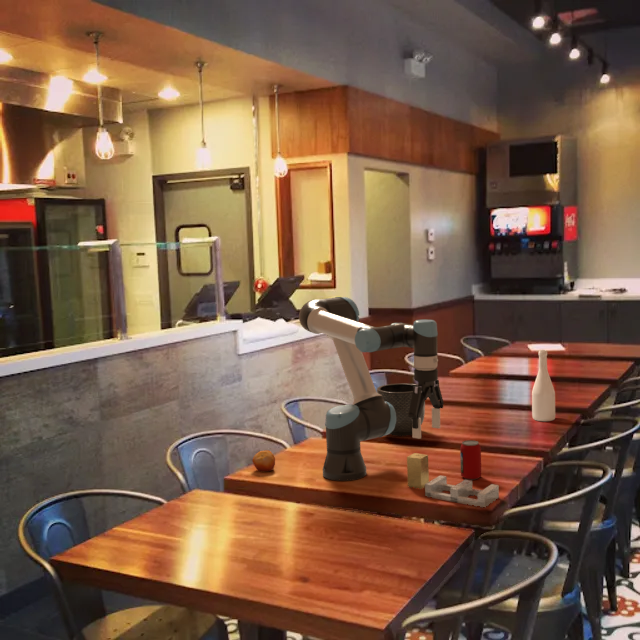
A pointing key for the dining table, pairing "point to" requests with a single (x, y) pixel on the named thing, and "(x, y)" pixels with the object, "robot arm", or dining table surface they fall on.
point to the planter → (400, 406)
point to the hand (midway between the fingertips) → (426, 432)
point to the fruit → (264, 461)
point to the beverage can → (470, 459)
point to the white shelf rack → (461, 492)
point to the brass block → (417, 470)
